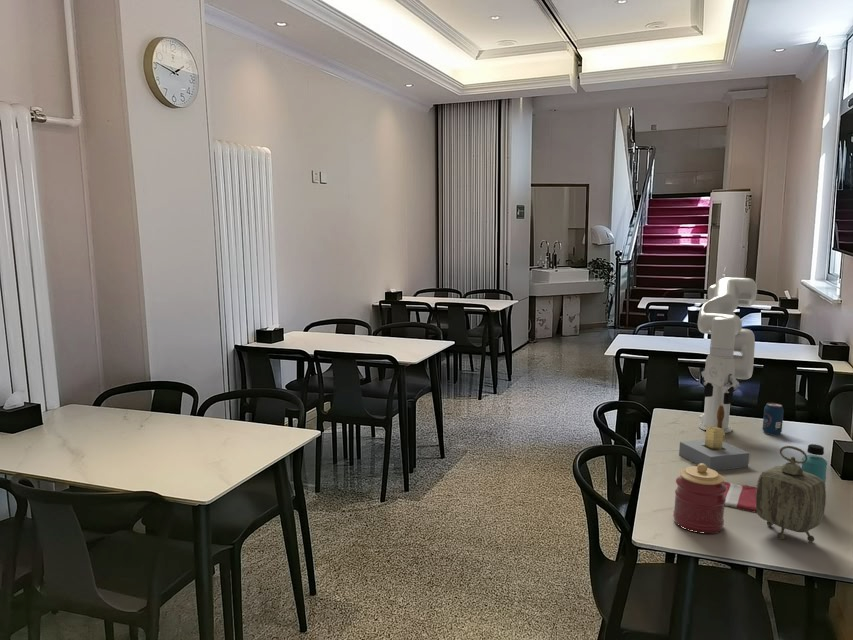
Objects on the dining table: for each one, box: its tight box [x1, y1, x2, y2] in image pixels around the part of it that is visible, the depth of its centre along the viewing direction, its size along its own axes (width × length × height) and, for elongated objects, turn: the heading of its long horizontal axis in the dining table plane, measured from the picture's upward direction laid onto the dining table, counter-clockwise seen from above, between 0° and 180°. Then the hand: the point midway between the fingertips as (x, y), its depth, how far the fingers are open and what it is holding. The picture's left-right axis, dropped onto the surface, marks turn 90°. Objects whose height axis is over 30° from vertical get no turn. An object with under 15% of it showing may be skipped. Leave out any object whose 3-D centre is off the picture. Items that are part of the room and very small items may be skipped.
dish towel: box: [722, 481, 757, 513], centre depth 197 cm, size 17×23×3 cm
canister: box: [672, 463, 727, 534], centre depth 177 cm, size 13×13×18 cm
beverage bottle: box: [801, 443, 828, 490], centre depth 186 cm, size 6×7×20 cm
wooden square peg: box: [704, 426, 724, 451], centre depth 227 cm, size 4×4×12 cm
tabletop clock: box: [756, 445, 827, 542], centre depth 170 cm, size 14×9×25 cm, turn 35°
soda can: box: [762, 402, 785, 436], centre depth 259 cm, size 7×7×12 cm
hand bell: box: [717, 405, 727, 443], centre depth 242 cm, size 8×8×16 cm
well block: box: [678, 439, 750, 471], centre depth 227 cm, size 16×16×5 cm
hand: (717, 400), depth 225 cm, fingers open, 9 cm apart
